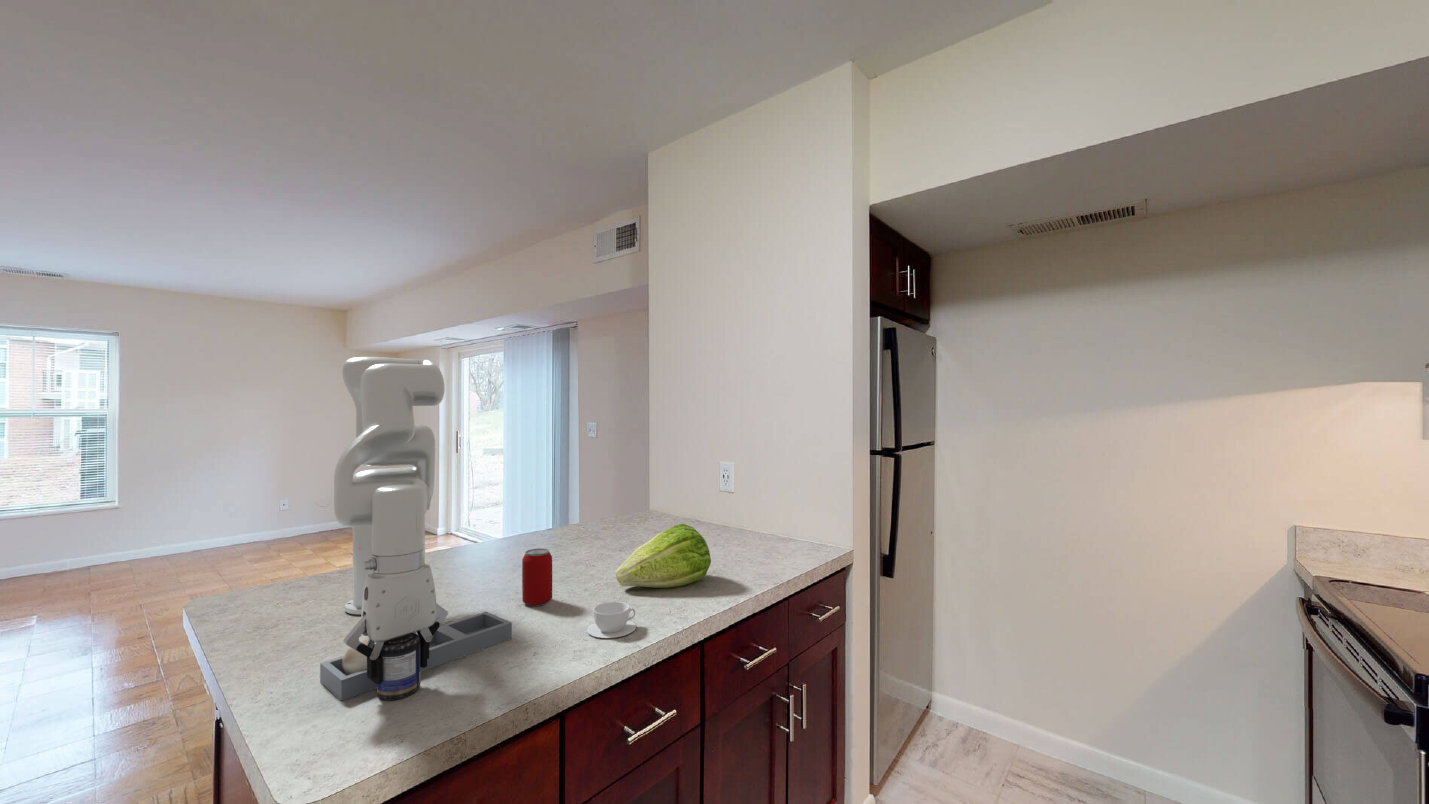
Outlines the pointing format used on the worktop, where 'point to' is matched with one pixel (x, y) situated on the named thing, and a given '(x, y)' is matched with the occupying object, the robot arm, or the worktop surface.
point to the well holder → (442, 649)
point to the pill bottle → (400, 667)
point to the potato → (354, 660)
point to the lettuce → (667, 560)
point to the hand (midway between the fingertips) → (399, 672)
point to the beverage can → (537, 577)
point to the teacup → (612, 620)
